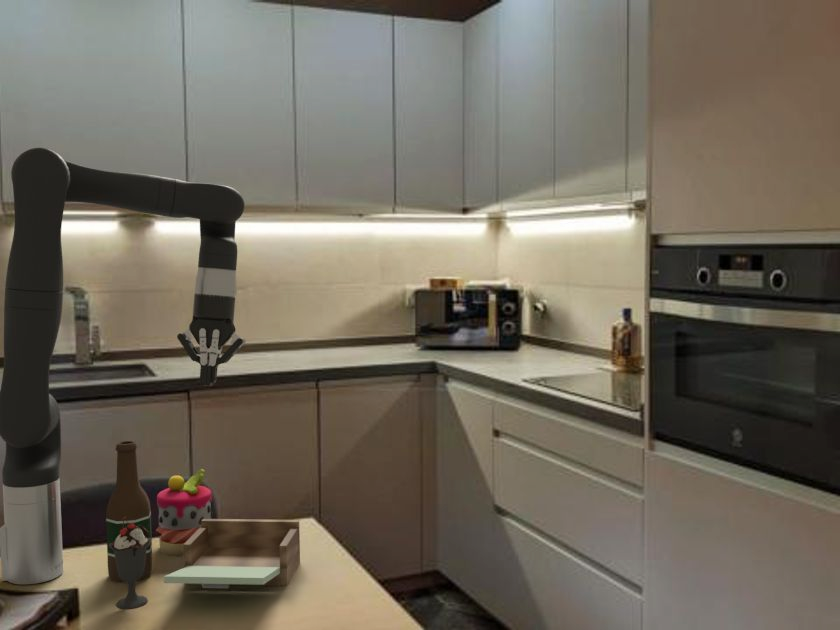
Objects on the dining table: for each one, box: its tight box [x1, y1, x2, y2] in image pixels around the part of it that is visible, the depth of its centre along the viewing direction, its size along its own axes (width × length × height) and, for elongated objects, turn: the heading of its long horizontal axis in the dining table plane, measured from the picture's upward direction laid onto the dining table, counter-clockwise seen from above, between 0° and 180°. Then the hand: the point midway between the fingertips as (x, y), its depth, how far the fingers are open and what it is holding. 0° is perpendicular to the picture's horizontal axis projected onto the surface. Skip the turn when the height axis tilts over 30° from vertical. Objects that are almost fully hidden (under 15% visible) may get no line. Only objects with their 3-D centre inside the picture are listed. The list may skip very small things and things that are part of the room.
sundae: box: [109, 517, 151, 610], centre depth 143 cm, size 7×7×15 cm
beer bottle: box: [105, 440, 153, 584], centre depth 155 cm, size 8×8×24 cm
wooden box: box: [183, 518, 301, 587], centre depth 156 cm, size 18×11×8 cm, turn 87°
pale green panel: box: [163, 566, 281, 589], centre depth 144 cm, size 16×2×12 cm
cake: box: [155, 468, 213, 557], centre depth 170 cm, size 10×11×15 cm
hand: (207, 385), depth 164 cm, fingers closed
